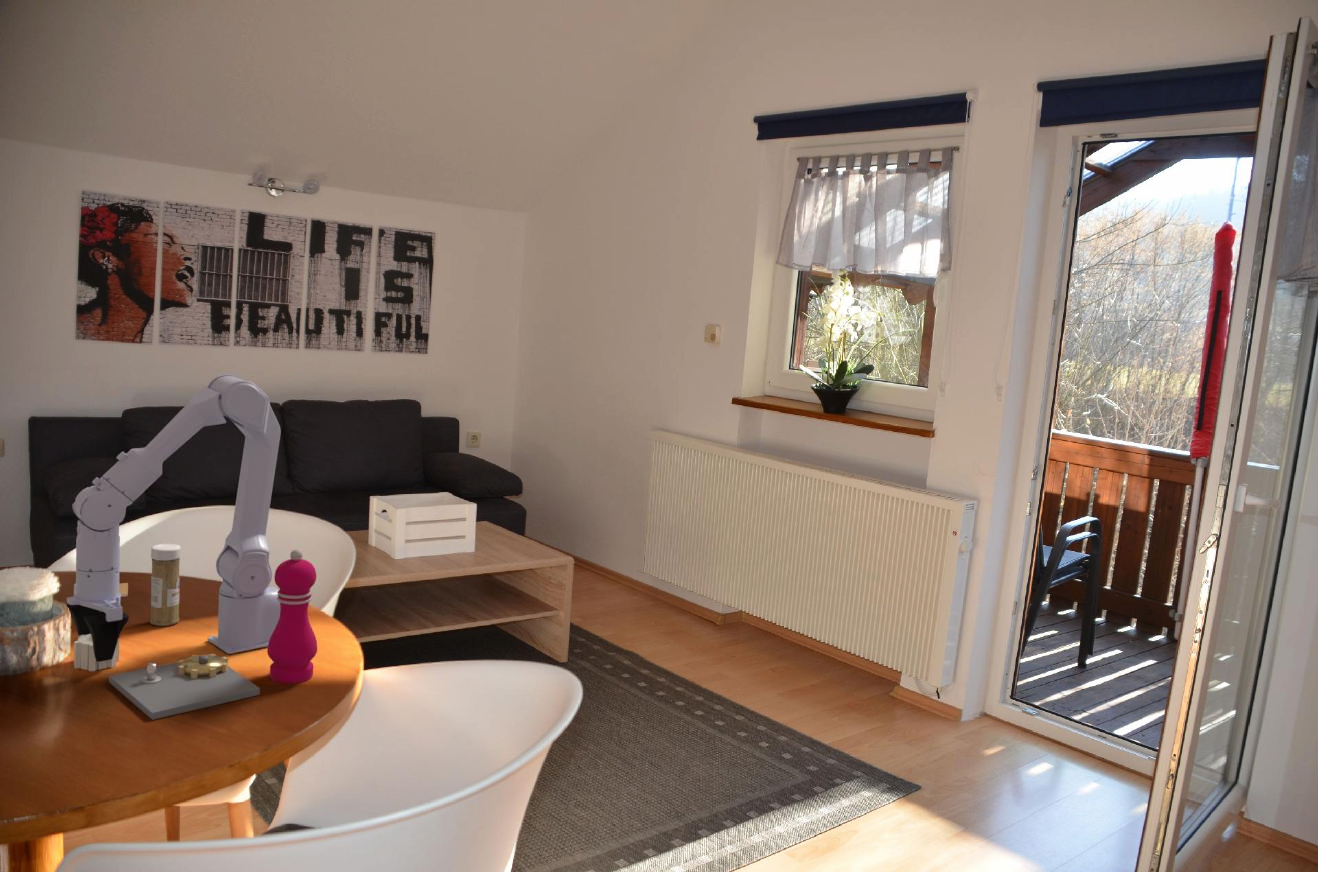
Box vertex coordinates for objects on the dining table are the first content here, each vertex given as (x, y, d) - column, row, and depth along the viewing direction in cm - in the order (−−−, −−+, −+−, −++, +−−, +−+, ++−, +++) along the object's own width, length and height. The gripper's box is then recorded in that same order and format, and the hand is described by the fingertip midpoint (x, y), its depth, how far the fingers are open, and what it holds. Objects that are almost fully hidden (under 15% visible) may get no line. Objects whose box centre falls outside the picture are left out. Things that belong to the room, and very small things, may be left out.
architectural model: (127, 602, 183) (128, 562, 182) (127, 614, 177) (128, 573, 176) (106, 603, 182) (106, 563, 181) (105, 615, 176) (105, 574, 175)
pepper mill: (269, 687, 151) (274, 556, 149) (263, 669, 158) (268, 544, 155) (319, 682, 155) (325, 555, 152) (312, 665, 161) (317, 542, 158)
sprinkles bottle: (181, 625, 173) (183, 548, 171) (151, 628, 171) (153, 550, 169) (177, 617, 177) (178, 542, 175) (147, 619, 174) (149, 543, 173)
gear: (111, 654, 158) (111, 629, 158) (124, 665, 154) (125, 640, 154) (68, 662, 154) (68, 636, 153) (81, 673, 150) (81, 647, 149)
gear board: (211, 661, 159) (212, 639, 159) (259, 694, 148) (260, 671, 148) (108, 681, 148) (109, 658, 148) (152, 719, 137) (152, 695, 137)
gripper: (52, 558, 154) (51, 644, 156) (85, 582, 144) (84, 674, 146) (102, 552, 159) (101, 635, 161) (138, 575, 149) (136, 664, 151)
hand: (96, 653), depth 154 cm, fingers closed on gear, 6 cm apart
